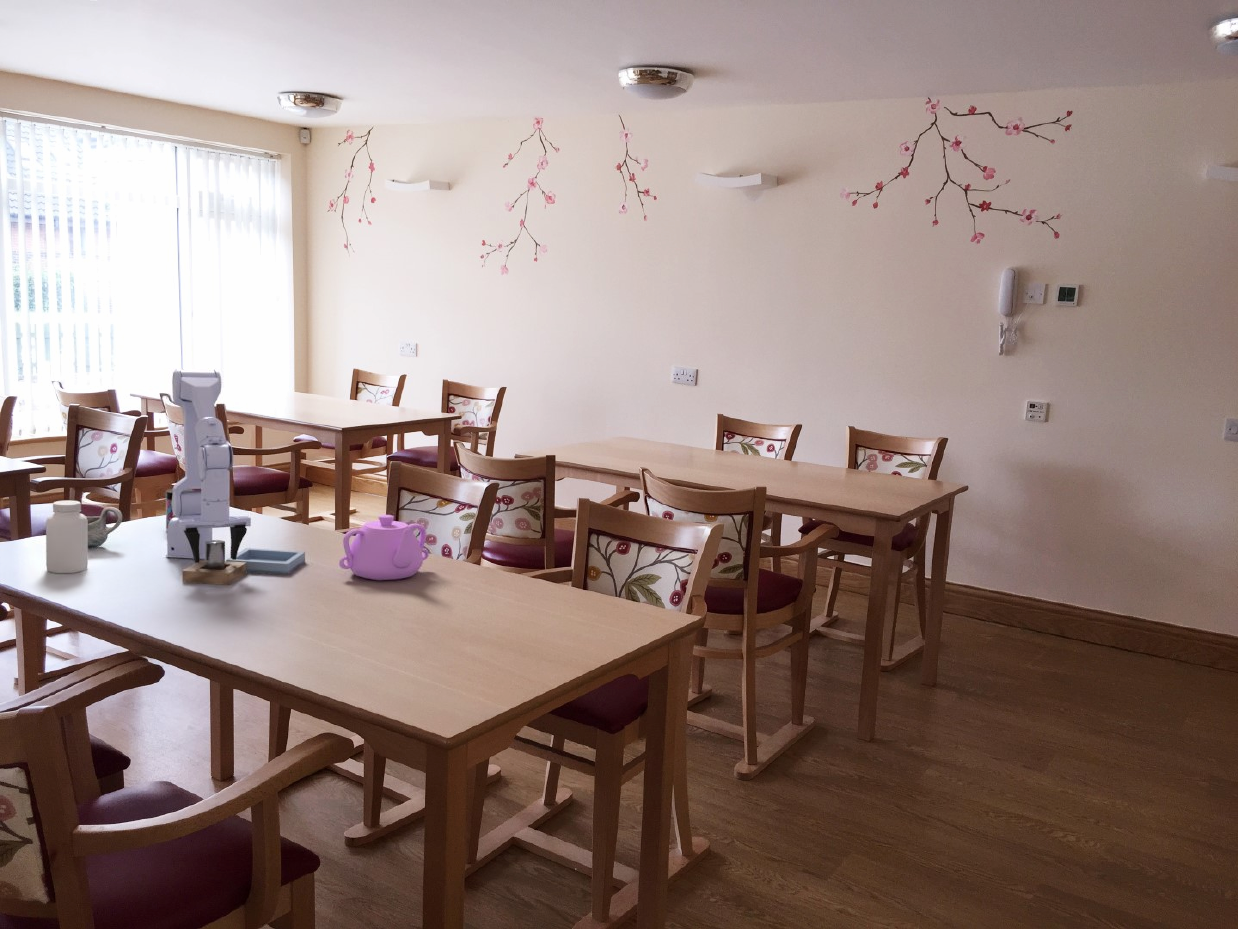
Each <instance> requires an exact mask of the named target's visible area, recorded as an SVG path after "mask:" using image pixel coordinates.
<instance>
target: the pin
mask: <svg viewBox="0 0 1238 929" xmlns="http://www.w3.org/2000/svg"><path fill="white" fill-rule="evenodd" d="M204 560H205V569H212V570H223V569H225V561H226V542H225V540H221V539H220V540H219V539H212V540H210V541H206V542H205V559H204Z"/></svg>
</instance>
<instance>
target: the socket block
mask: <svg viewBox="0 0 1238 929" xmlns="http://www.w3.org/2000/svg"><path fill="white" fill-rule="evenodd" d="M246 563H247V562H231V561H226V560H225V569H223V570H212V569H205V559H200V560H199V563H196V562H195V563H194V564H192V565H190V566H188V567H186V568H184V569H182V570H181V571H182V572H181V576H182V580H181V582H182V583H193V584H194V583H195V584H210V585H226V586H229V585H231V584H232V583H234V582H235V581H237V580H238V579H240V578H242V577H243V576H245V575H247V572H246Z"/></svg>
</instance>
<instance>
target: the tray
mask: <svg viewBox="0 0 1238 929" xmlns="http://www.w3.org/2000/svg"><path fill="white" fill-rule="evenodd" d="M225 561H231V562H247V563H246V573H255V574H257V573H258V574H270V575H285V576H289V575H290V574H291V573H293V571H295V570H297V569H298V568H299V567H301V566H302V565H303V564H304V563H306V551H297V550H283V549H282V550H281V549H265V548H251V547H250V548H249V547H246V548H244V549H243V550H241V551H239V552H238V553H237V557H236V560H233V559H232V558H231V556H230V557H229V558H227V559H225Z"/></svg>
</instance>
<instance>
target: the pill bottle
mask: <svg viewBox="0 0 1238 929" xmlns="http://www.w3.org/2000/svg"><path fill="white" fill-rule="evenodd" d="M52 512H53V513H52V514H50V515H49V516H48V517H47V518H46V522H45V524H46V525H45V538H46V539H45V541H46V542H45V546H46V547H45V550H46V552H45V560H46V561H45V566H46V570H47V571H48V572H49V573H53V574H75V573H80V572H83V571H85V570H87V569H88V563H89V561H88V560H89V559H88V558H89V556H88V552H89V549H88V520H87V518H86V517H87V516H86V515H85V514H83V513H81V512H82V504H81V502H80V501H78V500H68V499H67V500H57V501H54V502H52Z"/></svg>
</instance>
